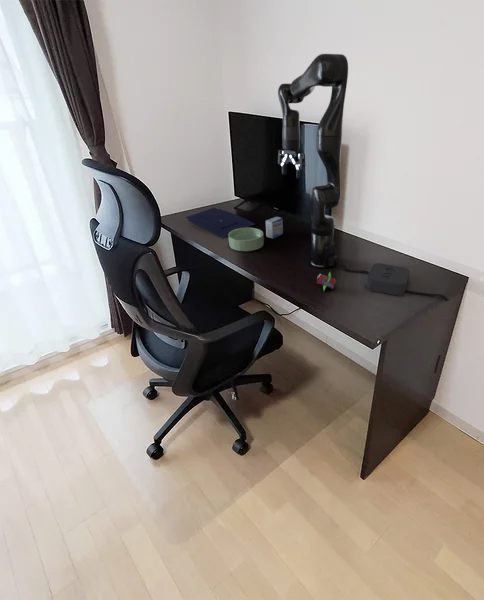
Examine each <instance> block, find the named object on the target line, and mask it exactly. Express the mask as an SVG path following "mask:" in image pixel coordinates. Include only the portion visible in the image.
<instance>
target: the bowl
mask: <svg viewBox="0 0 484 600" xmlns="http://www.w3.org/2000/svg"><path fill="white" fill-rule="evenodd" d="M227 237H228V245H229V247H230V249H231V250H234V251H238V252H252V251H256V250H259V249H261V248H262V247H264V244H265V237H264V232H263V231H262V230H261V229H260V228H257V227H256V228H255V227H247V228H239V229H235V230H232V231H231V232H229V234H228V236H227Z"/></svg>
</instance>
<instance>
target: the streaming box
mask: <svg viewBox="0 0 484 600" xmlns="http://www.w3.org/2000/svg"><path fill="white" fill-rule="evenodd" d="M410 273H411V271H410V269H409V268H408V267H403V266H399V265H398V266H397V265H394V264H393V265H392V264H386V263H380V262H379V263H378V262H377V263H373V264H372V265H371V268H370V270H369V273H367V278H366V285H365V286H366V289H368V291H372V292H377V293H383V294H386V295H387V294H388V295H393V296H403V295H404V294H405V293H406V292H405V290H407V287H408V284H409V278H410Z"/></svg>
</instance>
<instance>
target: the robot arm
mask: <svg viewBox="0 0 484 600" xmlns="http://www.w3.org/2000/svg"><path fill="white" fill-rule="evenodd" d="M348 79H349V62H348V59H347V57H346V55H345V54H343V53H342V54H341V53H320V54H318V55H317V56H316V57H314V59H313V60H312V61H311V63H310V64H309V65H308V67H306V69H305V70H304V71H303V73H302V74H301V75H299V76H297V77H296V78H294V79H293V80H292V82H291V83H281V84H280V85H279V87H278V89H277V97H278V101H279V104H280V109H281V114H282V138H281V139H282V149H279V150H278V153H277V164H278V165H280V166H281V174H282V176H286V175H287V173H288V166H287V164H289V163H291V164H293V166H295V169H296V170H295V175H296V176H295V177H296V179H301V177H302V169H305V168H306V154H305V153H300V149H301V128H300V112H299V111H298V110H297V109H292V108H291V106H290V104H300V103H302V102H303V101H304V99H305V98H306V97H308V96H309V95H311V94H312V93H313V91H314V90H315V88H316V87H324V88H325V87H326V88H327V87H328V88H329V87H330V88H331V94H330V99H329V103H328V106H327V108H326V110H325V112H324V113H323V115H322V116H321V118H320V120H319V122H318V124H317V128H316V139H315V140H316V141H315V142H316V144H315V145H316V151H317V154H318V156H319V158H320V160H321V163H322V164H323V166H324V168H325V170H326V171H325V172H326V184H321V185H320V184H319V185H315V186H313V187H312V188H311V189H310V193H309V194H310V195H309V196H310V197H309V202H310V203H309V205H310V206H309V207H310V219H311V237H310V238H311V242H310V244H311V245H310V265H311V266H313V267H315V268H320V269H327V268H329V267H333V266H335V265H336V264H338V265H339V266H342V267H343V268H344V269H345V270H346V271H347V272H350V273H365V274H368V273H369V272H370V270H369V271H368V270H355V269H349V268H348V267H347V266H346V265H344V263H342V262H340V261H339V255H335V254H336V243H335V242H334V236H335V221H336V220H335V218H334V217H333V216H331V215H328V214H326V211H325V210H330V209H333V208H334V209H335V208H336V207H338V206H339V205H340V202H341V195H342V193H341V191H342V190H341V189H342V188H341V158H342V157H341V156H342V144H343V124H344V123H343V122H344V109H345V100H346V93H347V88H348V87H347V86H348ZM405 293H408V294H416V295H422V296H428V297H440V298H443V299H444V300H445V301H446V302H449V301H450V299H449V298H448V297H447V296H446V295H444V294H441V293H428V292H422V291H414V290H407V289H406V290H405ZM441 357H442V355H441V354H438V356H437V360H436V363H435V367H434V371H433V373H434V374H437V370H438V367H439V363H440V359H441Z"/></svg>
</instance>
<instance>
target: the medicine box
mask: <svg viewBox="0 0 484 600" xmlns="http://www.w3.org/2000/svg"><path fill="white" fill-rule="evenodd" d="M283 225H284V224H283V217H280V216H274V217H272V218H269V219H266V220H265V236H266V238H269V239H276V238H278V237H280V236H282V235H283V234H284V226H283Z"/></svg>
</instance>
